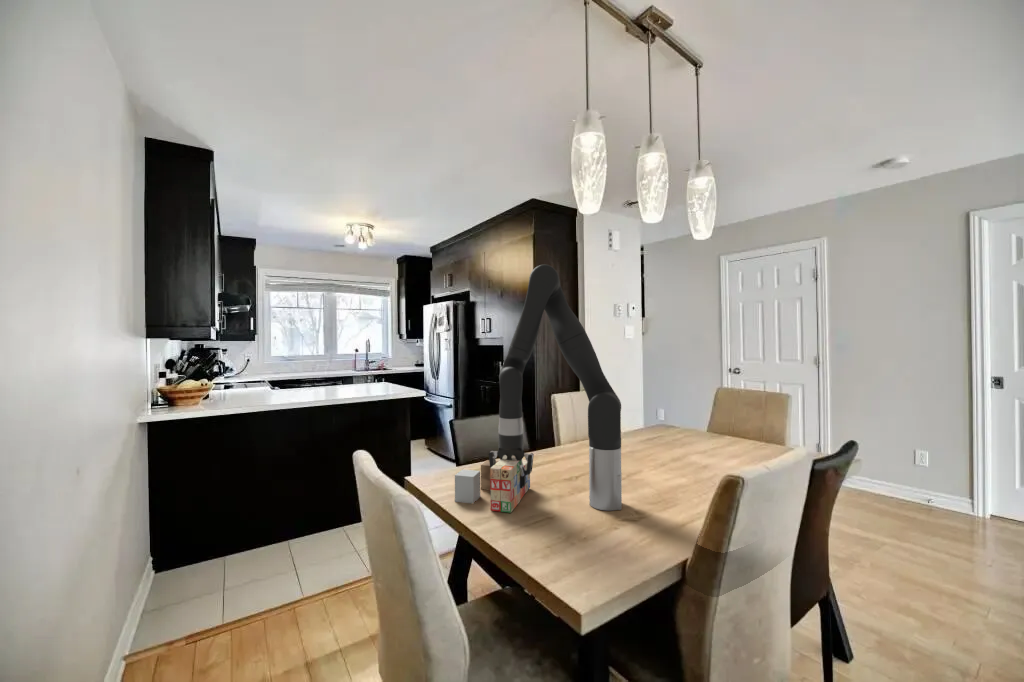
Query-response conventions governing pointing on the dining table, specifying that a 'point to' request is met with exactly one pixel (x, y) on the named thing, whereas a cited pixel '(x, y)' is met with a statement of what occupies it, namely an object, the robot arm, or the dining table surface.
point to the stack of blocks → (507, 485)
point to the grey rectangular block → (467, 486)
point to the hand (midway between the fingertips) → (511, 486)
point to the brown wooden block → (485, 475)
